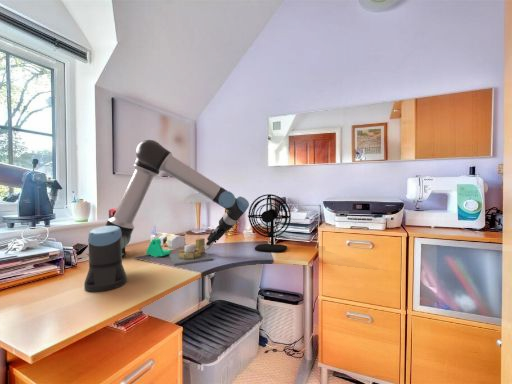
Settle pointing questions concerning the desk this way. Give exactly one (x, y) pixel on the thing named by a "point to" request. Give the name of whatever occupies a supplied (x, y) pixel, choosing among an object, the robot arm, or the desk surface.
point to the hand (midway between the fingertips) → (205, 247)
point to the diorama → (169, 239)
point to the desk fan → (268, 217)
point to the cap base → (180, 261)
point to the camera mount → (156, 249)
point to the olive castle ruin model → (198, 250)
